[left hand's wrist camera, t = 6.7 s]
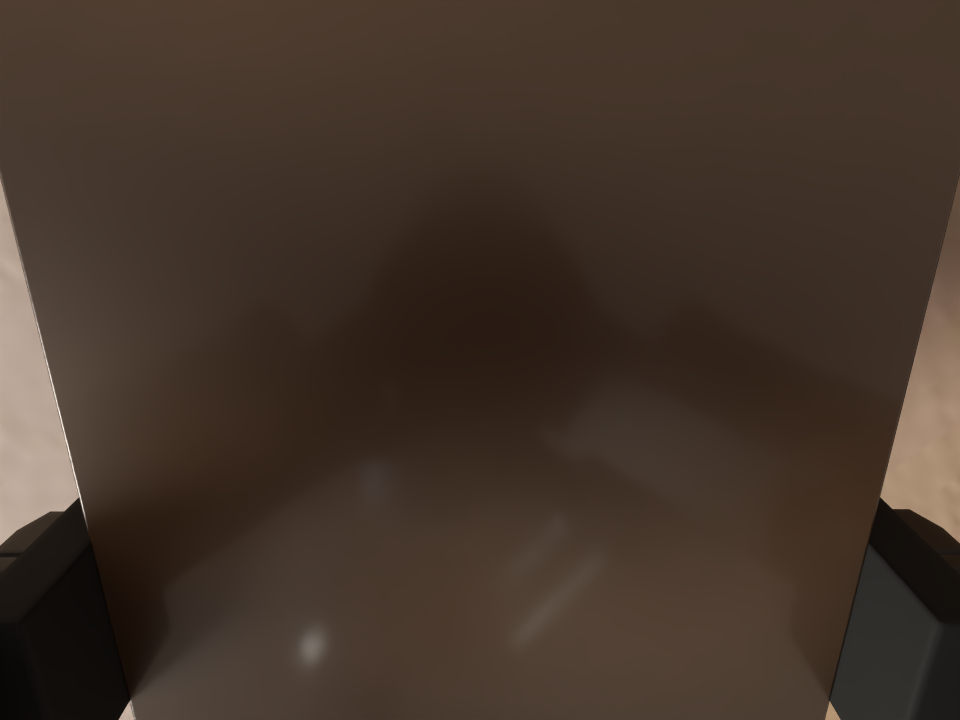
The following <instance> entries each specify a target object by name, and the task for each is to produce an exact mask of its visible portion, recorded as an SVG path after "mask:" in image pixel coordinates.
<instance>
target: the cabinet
mask: <svg viewBox="0 0 960 720" xmlns="http://www.w3.org/2000/svg"><path fill="white" fill-rule="evenodd" d="M959 175H960V0H0V178H1V183H2V187H3V191H4V195H5V199H6V203H7V207H8V211H9V215H10V219H11V223H12V227H13V231H14V235H15V239H16V243H17V247H18V251H19V255H20V259H21V264H22V268H23V272H24V276H25V280H26V284H27V288H28V292H29V296H30V300H31V304H32V308H33V312H34V316H35V320H36V324H37V328H38V332H39V336H40V340H41V344H42V349H43V353H44V357H45V361H46V365H47V369H48V373H49V377H50V381H51V385H52V389H53V393H54V397H55V401H56V405H57V409H58V413H59V417H60V421H61V425H62V430H63V434H64V438H65V442H66V446H67V450H68V454H69V458H70V462H71V466H72V470H73V474H74V478H75V482H76V486H77V490H78V494H79V498H80V502H81V506H82V510H83V515H84V519H85V523H86V527H87V531H88V535H89V539H90V543H91V547H92V551H93V555H94V559H95V563H96V567H97V571H98V575H99V579H100V583H101V587H102V591H103V596H104V600H105V604H106V608H107V612H108V616H109V620H110V624H111V628H112V632H113V636H114V640H115V644H116V648H117V652H118V656H119V660H120V664H121V668H122V672H123V676H124V681H125V685H126V689H127V693H128V697H129V701H130V705H131V709H132V713H133V717H134V720H825V717H826V713H827V709H828V705H829V701H830V697H831V693H832V689H833V684H834V680H835V676H836V672H837V668H838V664H839V660H840V656H841V652H842V648H843V644H844V640H845V636H846V632H847V628H848V624H849V620H850V616H851V612H852V608H853V604H854V600H855V596H856V592H857V587H858V583H859V579H860V575H861V571H862V567H863V563H864V559H865V555H866V551H867V547H868V543H869V539H870V535H871V531H872V527H873V523H874V519H875V515H876V511H877V507H878V503H879V499H880V495H881V490H882V486H883V482H884V478H885V474H886V470H887V466H888V462H889V458H890V454H891V450H892V446H893V442H894V438H895V434H896V430H897V426H898V422H899V418H900V414H901V410H902V406H903V402H904V398H905V393H906V389H907V385H908V381H909V377H910V373H911V369H912V365H913V361H914V357H915V353H916V349H917V345H918V341H919V337H920V333H921V329H922V325H923V321H924V317H925V313H926V309H927V305H928V300H929V296H930V292H931V288H932V284H933V280H934V276H935V272H936V268H937V264H938V260H939V256H940V252H941V248H942V244H943V240H944V236H945V232H946V228H947V224H948V220H949V216H950V212H951V208H952V203H953V199H954V195H955V191H956V187H957V183H958V179H959Z"/></svg>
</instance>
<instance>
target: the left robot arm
mask: <svg viewBox="0 0 960 720" xmlns="http://www.w3.org/2000/svg"><path fill="white" fill-rule="evenodd" d="M830 702H831V704H832V705H833V707H834V709H835V711H836V712H837V714H838V716H839V717H840V719H841V720H960V543H959V542H958V541H956V540H955V539H954V538H953V537H952V536H951V535H950V534H949V533H948V532H947V531H945V530H944V529H943V528H942V527H940V526H938V525H936V524H934V523H933V522H931V521H929V520H927V519H926V518H924V517H922V516H920V515H918V514H917V513H915V512H913V511H911V510H910V509H892V508H891V507H890V506H889V505H887V504H886V503H885V502H884V501H883V500H882V499H881V498H880V499H879V503H878V507H877V511H876V515H875V519H874V523H873V527H872V531H871V535H870V539H869V543H868V547H867V551H866V555H865V559H864V563H863V567H862V571H861V575H860V579H859V583H858V587H857V592H856V596H855V600H854V604H853V608H852V612H851V616H850V620H849V624H848V628H847V632H846V636H845V640H844V644H843V648H842V652H841V656H840V660H839V664H838V668H837V672H836V676H835V680H834V684H833V689H832V693H831V697H830ZM128 703H129V697H128V693H127V689H126V685H125V681H124V676H123V672H122V668H121V664H120V660H119V656H118V652H117V648H116V644H115V640H114V636H113V632H112V628H111V624H110V620H109V616H108V612H107V608H106V604H105V600H104V596H103V591H102V587H101V583H100V579H99V575H98V571H97V567H96V563H95V559H94V555H93V551H92V547H91V543H90V539H89V535H88V531H87V527H86V523H85V519H84V515H83V510H82V506H81V502H80V498H78V499H77V500H76V501H75V502H74V503H73V504H72V505H71V506H70V507H69V508H68V509H67V510H66V511H65V512H49V513H47V514H45V515H44V516H42V517H40V518H38V519H37V520H35V521H33V522H31V523H29V524H28V525H26V526H24V527H22V528H21V529H19V530H17V531H16V532H15V533H14V534H13V535H12V536H10V537H9V538H8V539H7V540H6V541H5V542H4V543H3V544H2V545H1V546H0V720H119V718H120V716H121V714H122V713H123V711H124V709H125V708H126V706H127V704H128Z"/></svg>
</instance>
